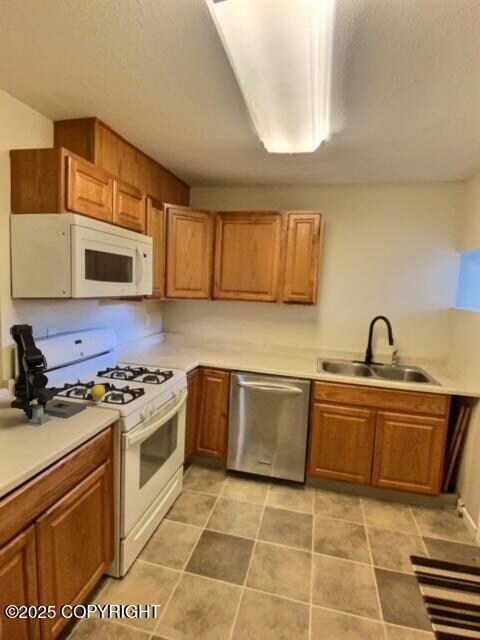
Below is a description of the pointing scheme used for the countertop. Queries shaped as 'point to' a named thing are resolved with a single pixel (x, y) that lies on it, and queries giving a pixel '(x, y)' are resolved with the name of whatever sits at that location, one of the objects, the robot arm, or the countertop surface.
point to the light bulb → (97, 393)
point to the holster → (41, 420)
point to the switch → (68, 408)
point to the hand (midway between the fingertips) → (36, 417)
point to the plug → (36, 412)
